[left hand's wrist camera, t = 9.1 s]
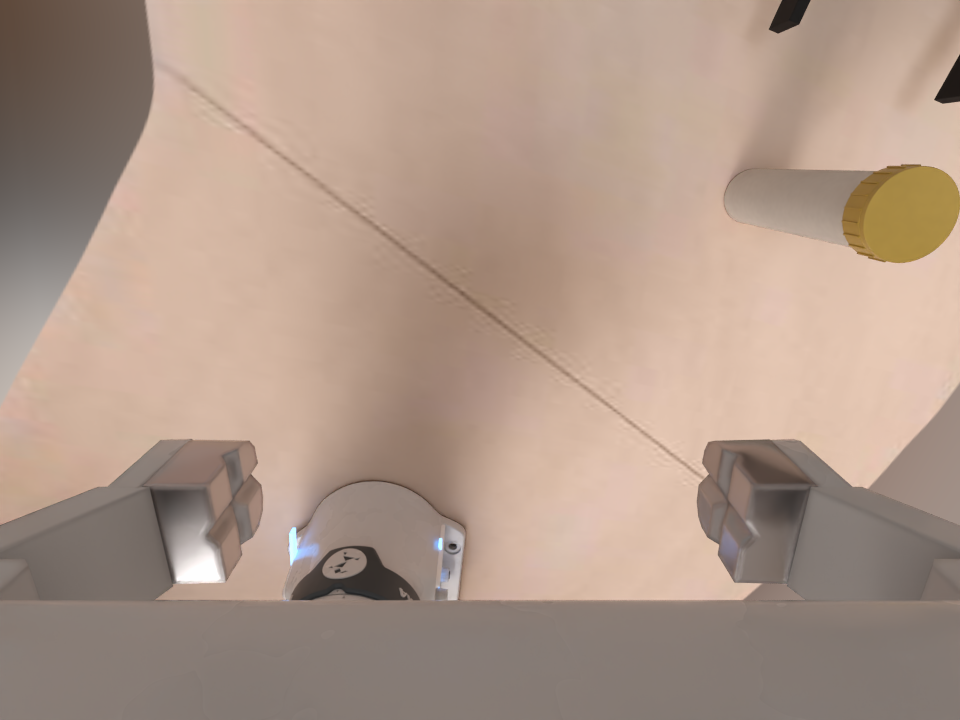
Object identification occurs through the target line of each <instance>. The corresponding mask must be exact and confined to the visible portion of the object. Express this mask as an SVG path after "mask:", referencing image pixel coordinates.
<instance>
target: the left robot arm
mask: <svg viewBox="0 0 960 720" xmlns="http://www.w3.org/2000/svg"><path fill="white" fill-rule="evenodd" d="M257 464H258V462H257V457H256V452H255V447H254V446H253V444H252V443H251V442H250V441H234V440H192V439H178V440H160V441H159V442H158V443H157V444H156V445H155V446H154V447H152V448H151V449H150V450H149V451H148V452H147V453H146V454H144V455H143V456H142V457H141V458H140V459H139V460H138V461H136V462H135V463H134V464H133V465H132V466H131V467H130V468H128V469H127V470H126V471H125V472H124V473H123V474H122V475H121V476H119V477H118V478H117V479H116V480H115V481H114V482H113V483H111V484H110V485H109V486H108V487H97V488H94V489H92V490H89V491H87V492H84V493H81V494H79V495H76V496H74V497H71V498H69V499H66V500H64V501H61V502H58V503H56V504H53V505H51V506H48V507H46V508H43V509H41V510H38V511H35V512H33V513H30V514H28V515H25V516H23V517H20V518H18V519H15V520H13V521H10V522H7V523H5V524H2V525H0V720H960V525H957V524H955V523H952V522H950V521H947V520H945V519H942V518H940V517H937V516H935V515H932V514H929V513H927V512H924V511H922V510H919V509H917V508H914V507H912V506H909V505H906V504H904V503H901V502H899V501H896V500H894V499H891V498H889V497H886V496H884V495H881V494H878V493H876V492H873V491H871V490H868V489H866V488H863V487H852V486H851V485H850V484H849V483H848V482H846V481H845V480H844V479H843V478H842V477H841V476H840V475H838V474H837V473H836V472H835V471H834V470H833V469H832V468H831V467H829V466H828V465H827V464H826V463H825V462H824V461H823V460H821V459H820V458H819V457H818V456H817V455H816V454H815V453H813V452H812V451H811V450H810V449H809V448H808V447H807V446H806V445H804V444H803V443H802V442H801V441H798V440H795V439H782V440H729V441H712V442H708V444H707V446H706V448H705V450H704V456H703V462H702V464H703V465H704V467H705V468H706V470H707V471H708V473H709V475H708V476H707V477H706V478H705V479H704V480H703V481H702V482H701V483H700V484H699V487H698V496H697V508H698V517H699V520H700V523H701V526H702V529H703V530H704V532H705V534H706V536H707V537H708V538H709V539H711V540H713V541H714V542H716V543H718V544H719V550H718V556H719V558H720V559H721V561H722V563H723V564H724V566H725V567H726V569H727V571H728V572H729V574H730V576H731V577H732V579H733V581H734V582H735V583H772V584H787V586H788V587H789V588H790V589H792V590H793V591H794V592H796V593H797V594H799V595H800V596H801V597H803V598H804V599H805V600H458V598H459V589H460V581H461V572H462V563H463V555H464V546H465V538H466V531H465V529H464V527H463V526H461V525H460V524H459V523H457V522H455V521H453V520H451V519H448V518H446V517H444V516H442V515H440V514H439V513H438V512H437V511H436V510H435V509H434V508H433V507H432V506H431V505H430V504H429V503H428V502H427V501H426V500H424V499H423V498H422V497H421V496H419V495H418V494H416V493H414V492H413V491H411V490H409V489H407V488H404V487H402V486H399V485H396V484H392V483H387V482H379V481H367V482H359V483H354V484H351V485H348V486H345V487H342V488H340V489H338V490H337V491H335V492H333V493H332V494H330V495H329V496H328V497H326V498H325V499H324V500H323V501H322V502H321V504H320V505H319V506H318V508H317V509H316V511H315V513H314V514H313V516H312V518H311V520H310V522H309V523H308V525H307V526H306V527H304V528H303V529H302V530H300V531H299V532H297V533H296V528H292V530H291V532H290V534H289V536H290V542H289V545H288V553H289V555H290V557H291V567H290V570H289V573H288V576H287V579H286V582H285V585H284V588H283V598H285V599H286V600H155V599H156V598H158V597H159V596H160V595H162V594H163V593H165V592H166V591H167V590H169V589H170V588H171V587H173V584H187V583H223V582H226V581H227V579H228V577H229V576H230V574H231V573H232V571H233V569H234V568H235V566H236V564H237V563H238V561H239V559H240V558H241V556H242V550H241V544H242V543H244V542H246V541H247V540H249V539H251V538H252V537H253V536H254V534H255V532H256V530H257V529H258V527H259V524H260V519H261V515H262V511H263V494H262V487H261V484H260V483H259V482H258V481H257V480H256V479H255V478H254V477H253V476H252V475H251V473H252V471H253V470H254V468H255V467H256V465H257ZM451 543H454V544H456V545H454V546H452V545H450V544H451Z"/></svg>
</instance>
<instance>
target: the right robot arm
mask: <svg viewBox="0 0 960 720" xmlns="http://www.w3.org/2000/svg"><path fill="white" fill-rule="evenodd" d="M809 2H810V0H782V2H781V4H780V6H779V8H778V10H777V12H776V15H775V17H774V19H773V21H772V23H771V26H770V28H769V30H771V31H774V32H776V33H780V32H783V31H785V30H787V29H790V28H792V27H794V26H797V25H799V23H800V21H801V19H802V17H803V15H804V13H805V11H806V9H807V7H808V4H809ZM934 100H936V101H938V102H940V103H943V104H944V103H952V102H959V101H960V55H959V57H958V59H957V60H956V62H955V64H954V66H953V67H952V69H951V71H950V73H949V75H948V76H947V78H946V80H945V82H944V83H943V85H942V87H941V89H940V90H939V92H938V94H937V96H936V97H935V99H934Z"/></svg>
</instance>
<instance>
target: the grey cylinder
mask: <svg viewBox="0 0 960 720" xmlns="http://www.w3.org/2000/svg"><path fill="white" fill-rule="evenodd" d="M873 172H874V171H841V170H789V169H749V170H746V171H743V172H741V173H740V174H738V175H737V176H735V177H734V178H733V179H732V181H731V182H730V183H729V185H728V187H727V189H726V192H725V196H724V204H725V209H726V211H727V213H728V214H729V216H730V217H731V218H733V219H734V220H736V221H738V222H741V223H745V224H750V225H754V226H758V227H763V228H767V229H772V230H776V231H781V232H785V233H790V234H794V235H798V236H803V237H807V238H812V239H816V240H821V241H825V242H829V243H834V244H838V245H843V246H847V247H850V246H848V245H849V244H848V242H847V240H846V238H845V236H844V235H843V227H842V222H841V221H842V217H843V212H844V206H845V205H846V203H847V201H848V199H849V197H850V194H851V193H852V192H853V191H854V189H855V188H856V187H857V186H858V185H859V184H860V182H861V181H863V180H864V179H866V178H867V177H868V176H870V175H871V174H873Z"/></svg>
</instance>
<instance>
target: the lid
mask: <svg viewBox="0 0 960 720" xmlns="http://www.w3.org/2000/svg"><path fill="white" fill-rule="evenodd" d="M959 210H960V196H959V191H958V188H957V186H956V184H955V182H954V181H953V179H952V178H951V177H950V176H949V175H948V174H947V173H945V172H944V171H942V170H940V169H937V168H934V167H928V166H921V165H901V166H887V168H884V169H881V170H879V171H874V172H873V174H871V175H870V176H868V177H867V178H866V179H864V180H863V181H861V182H860V184H859V185H858V186H857V187H856V188H855V189H854V191H853V192H852V193H851V194H850V197H849V199H848V201H847V203H846V205H845V206H844V212H843V217H842V221H841V222H842V227H843V235H844V236H845V238H846V240H847V242H848V244H849V245H848V246H850V247H852V248H853V249H854V250H855V251H856V252H857V254H859V255H864V256H868V258H869V259H873V260H878V261H882V262H886V261H888V262H893V263H905V262H911V261H914V260H918V259H920V258H922V257H924V256H926V255H928V254H930V253H931V252H933V251H934V250H935V249H936V248H938V247H939V246H940V245H941V244H942V243H943V242H944V241H945V240H946V238H947V237H948V236H949V234H950V233H951V231H952V230H953V228H954V226H955V224H956V221H957V218H958V215H959Z"/></svg>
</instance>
